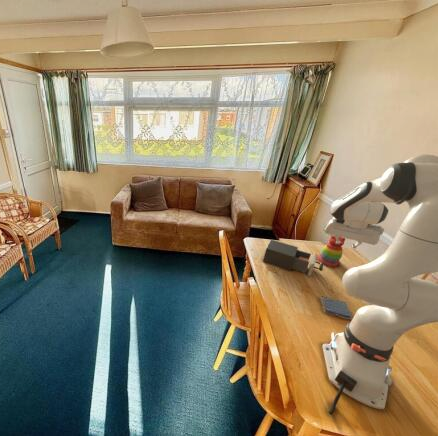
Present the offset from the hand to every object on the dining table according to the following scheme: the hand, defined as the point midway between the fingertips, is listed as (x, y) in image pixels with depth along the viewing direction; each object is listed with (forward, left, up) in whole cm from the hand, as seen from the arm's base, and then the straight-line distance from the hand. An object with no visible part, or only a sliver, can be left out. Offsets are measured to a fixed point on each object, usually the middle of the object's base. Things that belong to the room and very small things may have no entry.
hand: (345, 245), depth 115 cm
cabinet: (0, +26, -21) cm, 33 cm away
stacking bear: (+17, +2, -21) cm, 27 cm away
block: (0, +14, -19) cm, 24 cm away
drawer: (0, +14, -20) cm, 25 cm away
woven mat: (-25, -2, -21) cm, 33 cm away
